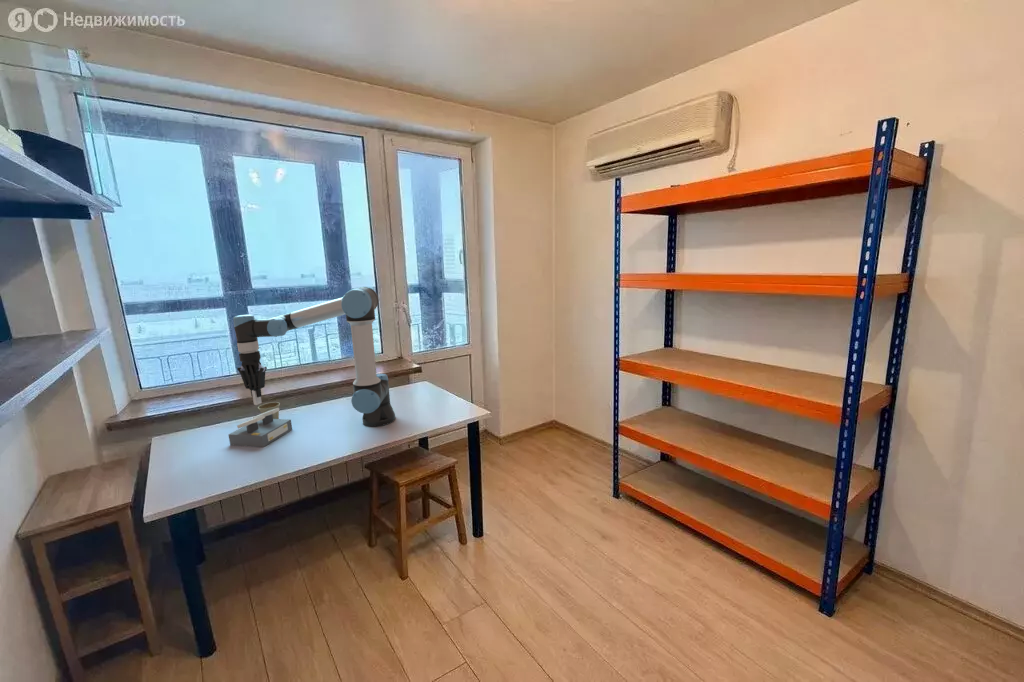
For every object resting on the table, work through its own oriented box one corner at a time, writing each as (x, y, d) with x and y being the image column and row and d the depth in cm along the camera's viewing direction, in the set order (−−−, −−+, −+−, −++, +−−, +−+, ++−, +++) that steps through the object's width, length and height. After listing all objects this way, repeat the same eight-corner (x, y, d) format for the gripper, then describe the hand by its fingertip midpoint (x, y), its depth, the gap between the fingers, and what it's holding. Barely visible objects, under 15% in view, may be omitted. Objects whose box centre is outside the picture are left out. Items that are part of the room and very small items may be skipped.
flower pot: (256, 424, 199) (253, 407, 197) (274, 417, 207) (272, 400, 205) (267, 427, 195) (265, 410, 193) (286, 420, 203) (284, 403, 201)
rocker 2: (279, 410, 187) (278, 407, 187) (273, 413, 183) (272, 410, 183) (260, 417, 189) (259, 414, 189) (254, 420, 185) (252, 417, 185)
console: (293, 429, 191) (290, 413, 189) (264, 447, 173) (261, 429, 172) (261, 428, 193) (259, 411, 192) (230, 445, 176) (227, 427, 174)
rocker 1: (265, 417, 178) (263, 414, 178) (258, 421, 174) (256, 418, 174) (245, 424, 181) (244, 422, 180) (238, 428, 177) (236, 425, 177)
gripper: (269, 349, 177) (277, 401, 182) (243, 349, 180) (252, 400, 184) (255, 353, 170) (264, 407, 174) (228, 353, 172) (238, 406, 177)
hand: (257, 403), depth 179 cm, fingers closed
